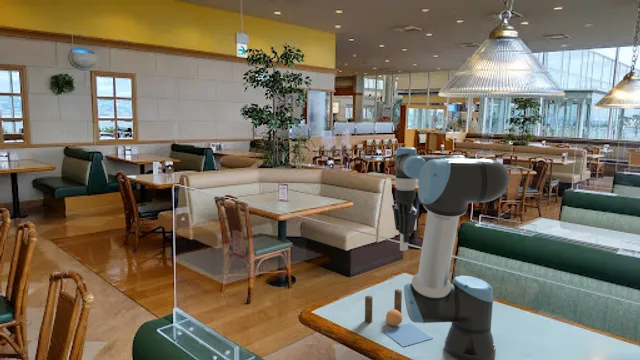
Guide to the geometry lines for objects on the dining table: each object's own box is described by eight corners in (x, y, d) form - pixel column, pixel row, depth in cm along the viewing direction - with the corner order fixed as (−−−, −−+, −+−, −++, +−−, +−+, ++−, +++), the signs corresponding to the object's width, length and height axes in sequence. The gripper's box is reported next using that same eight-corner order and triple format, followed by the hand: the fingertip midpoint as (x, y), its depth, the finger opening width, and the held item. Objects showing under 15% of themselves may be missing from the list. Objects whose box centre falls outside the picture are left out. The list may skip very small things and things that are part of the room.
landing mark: (432, 338, 150) (432, 338, 150) (403, 347, 145) (403, 346, 145) (410, 323, 160) (410, 322, 160) (381, 330, 155) (381, 330, 155)
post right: (402, 314, 167) (403, 291, 166) (396, 315, 166) (397, 292, 164) (398, 311, 169) (399, 288, 168) (392, 313, 168) (393, 290, 167)
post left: (373, 321, 162) (373, 298, 160) (367, 323, 160) (367, 299, 159) (369, 318, 164) (369, 295, 162) (363, 320, 163) (363, 296, 161)
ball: (397, 324, 162) (406, 324, 157) (384, 327, 159) (393, 328, 154) (394, 308, 163) (403, 308, 158) (381, 311, 160) (390, 311, 155)
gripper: (425, 190, 165) (423, 252, 169) (402, 185, 177) (400, 244, 180) (409, 192, 162) (407, 256, 165) (386, 187, 173) (385, 246, 176)
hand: (403, 249), depth 173 cm, fingers closed
